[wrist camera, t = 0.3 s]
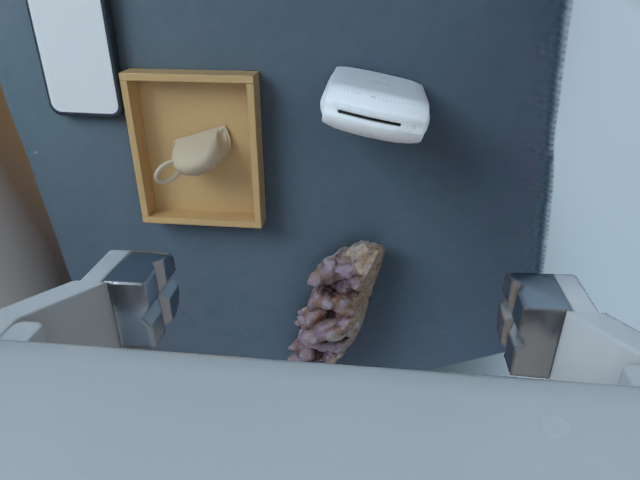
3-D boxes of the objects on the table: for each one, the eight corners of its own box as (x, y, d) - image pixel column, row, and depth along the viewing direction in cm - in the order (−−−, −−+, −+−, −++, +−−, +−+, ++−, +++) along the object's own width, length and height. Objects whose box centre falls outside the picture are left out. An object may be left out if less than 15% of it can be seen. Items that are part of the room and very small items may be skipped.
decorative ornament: (239, 157, 62) (227, 173, 57) (174, 173, 64) (158, 190, 59) (227, 124, 60) (213, 138, 55) (161, 142, 62) (143, 156, 57)
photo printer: (428, 81, 56) (438, 109, 45) (417, 120, 58) (424, 156, 47) (333, 60, 56) (320, 82, 45) (325, 100, 58) (311, 131, 47)
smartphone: (130, 114, 62) (105, -42, 54) (124, 118, 60) (97, -42, 52) (57, 111, 62) (22, -43, 55) (50, 115, 61) (13, -43, 53)
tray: (129, 68, 59) (118, 72, 56) (258, 71, 57) (253, 75, 55) (152, 213, 67) (143, 222, 64) (266, 218, 65) (261, 228, 63)
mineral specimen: (354, 389, 69) (299, 408, 62) (305, 346, 76) (250, 359, 69) (408, 248, 63) (352, 251, 56) (350, 215, 69) (293, 214, 62)
